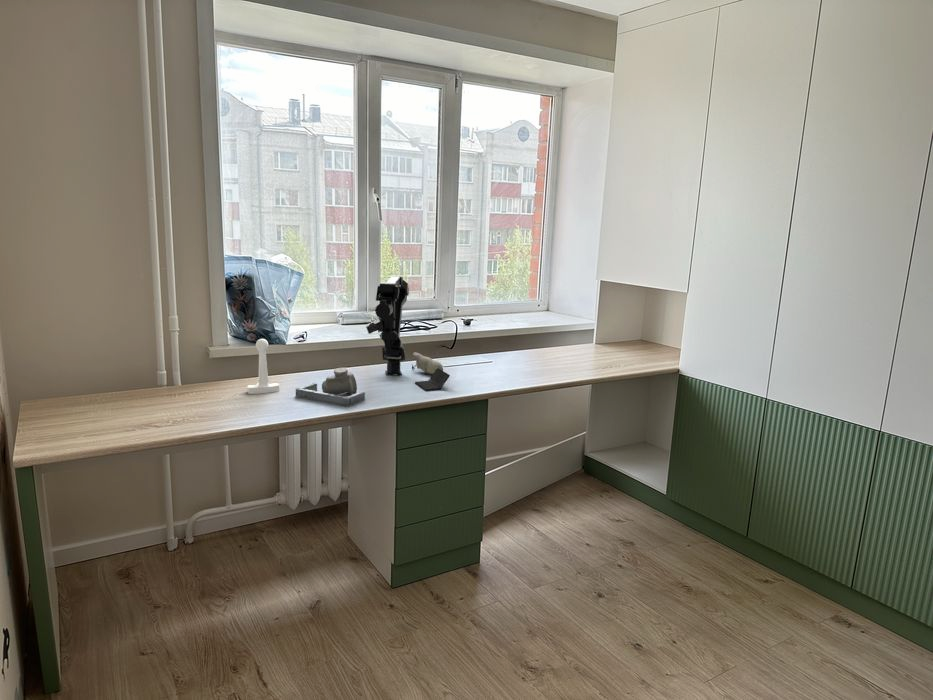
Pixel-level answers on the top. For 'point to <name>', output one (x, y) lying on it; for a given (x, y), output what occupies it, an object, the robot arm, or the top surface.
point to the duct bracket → (328, 396)
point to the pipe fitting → (340, 382)
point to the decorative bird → (426, 364)
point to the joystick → (262, 372)
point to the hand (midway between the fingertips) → (387, 353)
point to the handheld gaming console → (434, 381)
